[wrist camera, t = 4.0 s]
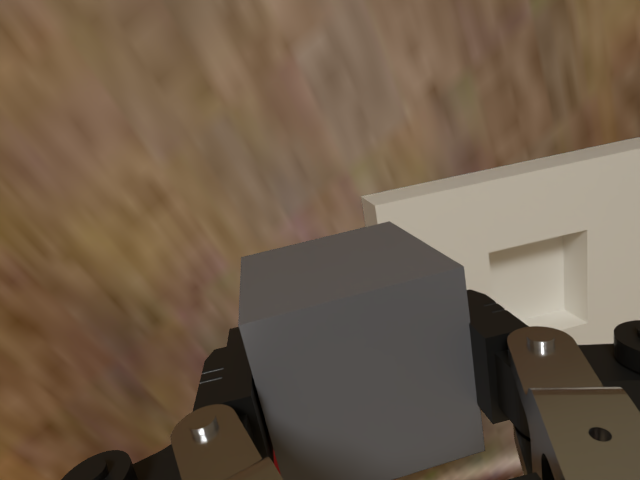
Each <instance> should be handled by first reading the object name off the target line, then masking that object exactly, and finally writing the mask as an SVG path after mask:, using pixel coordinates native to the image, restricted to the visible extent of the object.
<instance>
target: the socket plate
mask: <svg viewBox="0 0 640 480" xmlns="http://www.w3.org/2000/svg"><path fill="white" fill-rule="evenodd" d="M361 200H362V206H363V213H364V219H365V225H366V227H368V226H372V225H376V224H380V223H384V222H389V221H390V222H392V223H393V224H395V225H397V226H398V227H400V228H401V229H403V230H405V231H406V232H408V233H410V234H411V235H413V236H415V237H416V238H418V239H420V240H421V241H423V242H425V243H426V244H428V245H429V246H431V247H433V248H434V249H436V250H438V251H439V252H441V253H443V254H444V255H446V256H448V257H449V258H451V259H452V260H454V261H456V262H457V263H459V264H461V265H462V266H464V271H465V280H466V289H467V290H469V289H471V290H474V291H477V292H480V293H483V294H486V295H487V296H489V297H490V298H491V299H493V300H494V301H495V302H496V304H499V305H501V306H502V307H503V308H504V309H505V310H507V311H509V312H510V313H511V314H513V315H514V316H515V317H517V318H518V319H520V320H521V321H522V322H524V323H525V324H526V325H528V326H529V327H531V326H542V327H550V328H554V329H558V330H561V331H563V332H565V333H567V334H569V335H570V336H571V337H572V338H573V339H574V340H575V341H576V343H577V345H592V344H613V343H614V329H615V327H616V326H618V325H619V324H621V323H624V322H628V321H634V320H640V137H638V138H633V139H628V140H623V141H619V142H614V143H609V144H605V145H600V146H595V147H591V148H586V149H581V150H577V151H572V152H567V153H563V154H558V155H553V156H548V157H544V158H539V159H534V160H530V161H525V162H520V163H516V164H511V165H506V166H502V167H497V168H492V169H487V170H483V171H478V172H473V173H469V174H464V175H459V176H455V177H450V178H445V179H441V180H436V181H431V182H427V183H422V184H417V185H412V186H408V187H403V188H398V189H394V190H389V191H384V192H380V193H375V194H370V195H366V196H361Z"/></svg>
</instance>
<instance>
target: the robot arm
mask: <svg viewBox="0 0 640 480" xmlns="http://www.w3.org/2000/svg"><path fill="white" fill-rule="evenodd" d="M467 298H468V306H469V315H470V323H469V328H470V338H471V347H472V357H473V367H474V377H475V386H476V396H477V404H478V406H479V407H480V408H481V410H482V411H483V412H484V413H485V415H486V416H487V417H488V419H489V420H490V421H491V422H492V424H495V423H499V422H503V421H506V420H510V421H511V422H512V423H513V429H514V440H515V444H516V448H517V451H518V455H519V459H520V462H521V466H522V470H523V474H524V475H523V476H520V477H516V478H512V479H509V480H640V320H634V321H628V322H624V323H621V324H619V325H618V326H616V327H615V329H614V343H613V344H592V345H577V343H576V341H575V340H574V339H573V338H572V337H571V336H570V335H569V334H567V333H565V332H563V331H561V330H558V329H554V328H550V327H542V326H531V327H529V326H528V325H526V324H525V323H524V322H522V321H521V320H520V319H518V318H517V317H515V316H514V315H513V314H511V313H510V312H509V311H507V310H505V309H504V308H503V307H502V306H501V305H499V304H496V302H495V301H494V300H493V299H491V298H490V297H489V296H487V295H486V294H483V293H480V292H477V291H474V290H471V289H469V290H467ZM62 480H283V478H282V477H281V475H280V473H279V472H278V470H277V468H276V467H275V465H274V452H273V445H272V442H271V438H270V435H269V431H268V428H267V424H266V421H265V417H264V414H263V410H262V407H261V403H260V400H259V396H258V393H257V389H256V386H255V382H254V379H253V375H252V371H251V368H250V364H249V361H248V357H247V354H246V350H245V347H244V343H243V340H242V336H241V333H240V329H239V327H236V328H232V329H230V330H229V336H228V342H227V347H224V348H219V349H215V350H214V351H213V352H212V353H211V354H210V356H209V357H208V358H207V359H206V360H205V363H204V367H203V371H202V375H201V379H200V384H199V388H198V392H197V396H196V400H195V404H194V408H193V412H191V413H190V414H188V415H187V416H185V417H184V418H183V419H182V420H181V421H180V422H179V423H178V424H177V425H176V426H175V428H174V430H173V431H172V434H171V445H169V446H168V447H166V448H165V449H163V450H161V451H159V452H158V453H156V454H153V455H151V456H149V457H147V458H145V459H143V460H141V461H139V462H137V463H135V464H132V462H131V459H130V457H129V455H128V454H127V453H126V452H123V451H119V450H112V451H106V452H103V453H100V454H97V455H94V456H92V457H90V458H88V459H86V460H85V461H83V462H81V463H80V464H78V465H77V466H76V467H74V468H73V469H72V470H71V471H70V472H68V473H67V474H66V475H65V476H64V477H63V479H62Z"/></svg>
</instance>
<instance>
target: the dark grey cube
mask: <svg viewBox="0 0 640 480" xmlns="http://www.w3.org/2000/svg"><path fill="white" fill-rule="evenodd" d="M469 323H470V315H469V306H468V298H467V289H466V280H465V271H464V266H462V265H461V264H459V263H457V262H456V261H454V260H452V259H451V258H449V257H448V256H446V255H444V254H443V253H441V252H439V251H438V250H436V249H434V248H433V247H431V246H429V245H428V244H426V243H425V242H423V241H421V240H420V239H418V238H416V237H415V236H413V235H411V234H410V233H408V232H406V231H405V230H403V229H401V228H400V227H398V226H397V225H395V224H393V223H392V222H390V221H389V222H384V223H380V224H376V225H372V226H368V227H364V228H360V229H356V230H352V231H348V232H343V233H339V234H335V235H331V236H327V237H323V238H319V239H315V240H311V241H306V242H302V243H298V244H294V245H290V246H286V247H282V248H278V249H274V250H270V251H265V252H261V253H257V254H253V255H249V256H245V257H241V276H240V300H239V324H238V326H239V329H240V333H241V336H242V340H243V343H244V347H245V350H246V354H247V357H248V361H249V364H250V368H251V371H252V375H253V379H254V382H255V386H256V389H257V393H258V396H259V400H260V403H261V407H262V410H263V414H264V417H265V421H266V424H267V428H268V431H269V435H270V438H271V442H272V445H273V449H274V452H275V456H276V460H277V463H278V467H279V470H280V474H281V477H282V478H283V480H393V479H396V478H400V477H403V476H406V475H409V474H412V473H415V472H419V471H422V470H425V469H428V468H431V467H434V466H438V465H441V464H444V463H447V462H450V461H454V460H457V459H460V458H463V457H466V456H469V455H473V454H476V453H479V452H482V451H485V446H484V437H483V428H482V420H481V411H480V407H479V406H478V404H477V396H476V386H475V377H474V367H473V357H472V347H471V338H470V328H469Z"/></svg>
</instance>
